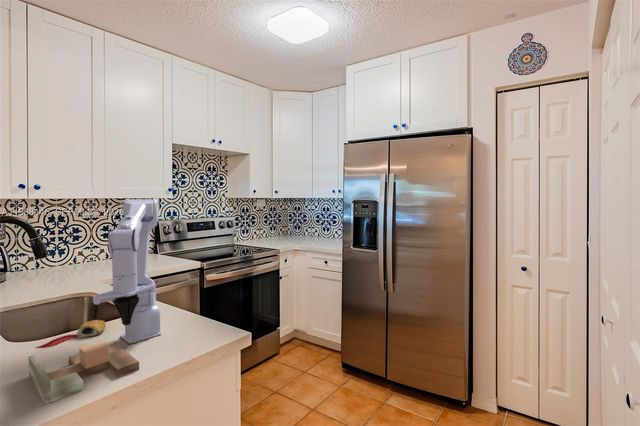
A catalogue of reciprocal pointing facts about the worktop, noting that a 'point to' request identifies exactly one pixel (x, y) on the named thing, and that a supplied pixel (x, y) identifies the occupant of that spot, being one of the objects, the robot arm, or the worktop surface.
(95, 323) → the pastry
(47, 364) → the worktop surface
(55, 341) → the cayenne pepper
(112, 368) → the blocky structure
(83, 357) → the block
